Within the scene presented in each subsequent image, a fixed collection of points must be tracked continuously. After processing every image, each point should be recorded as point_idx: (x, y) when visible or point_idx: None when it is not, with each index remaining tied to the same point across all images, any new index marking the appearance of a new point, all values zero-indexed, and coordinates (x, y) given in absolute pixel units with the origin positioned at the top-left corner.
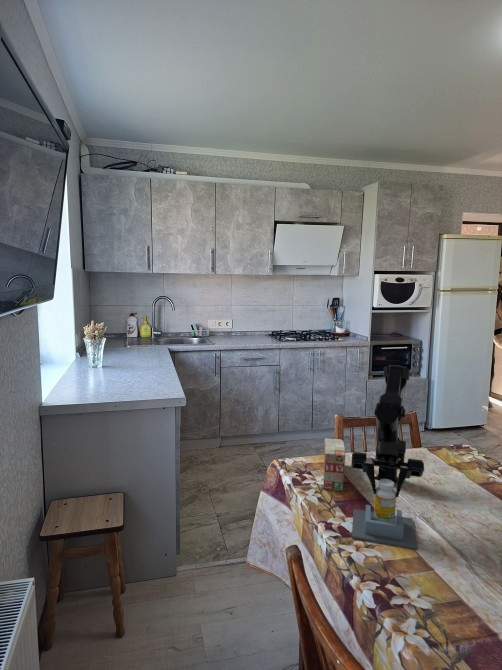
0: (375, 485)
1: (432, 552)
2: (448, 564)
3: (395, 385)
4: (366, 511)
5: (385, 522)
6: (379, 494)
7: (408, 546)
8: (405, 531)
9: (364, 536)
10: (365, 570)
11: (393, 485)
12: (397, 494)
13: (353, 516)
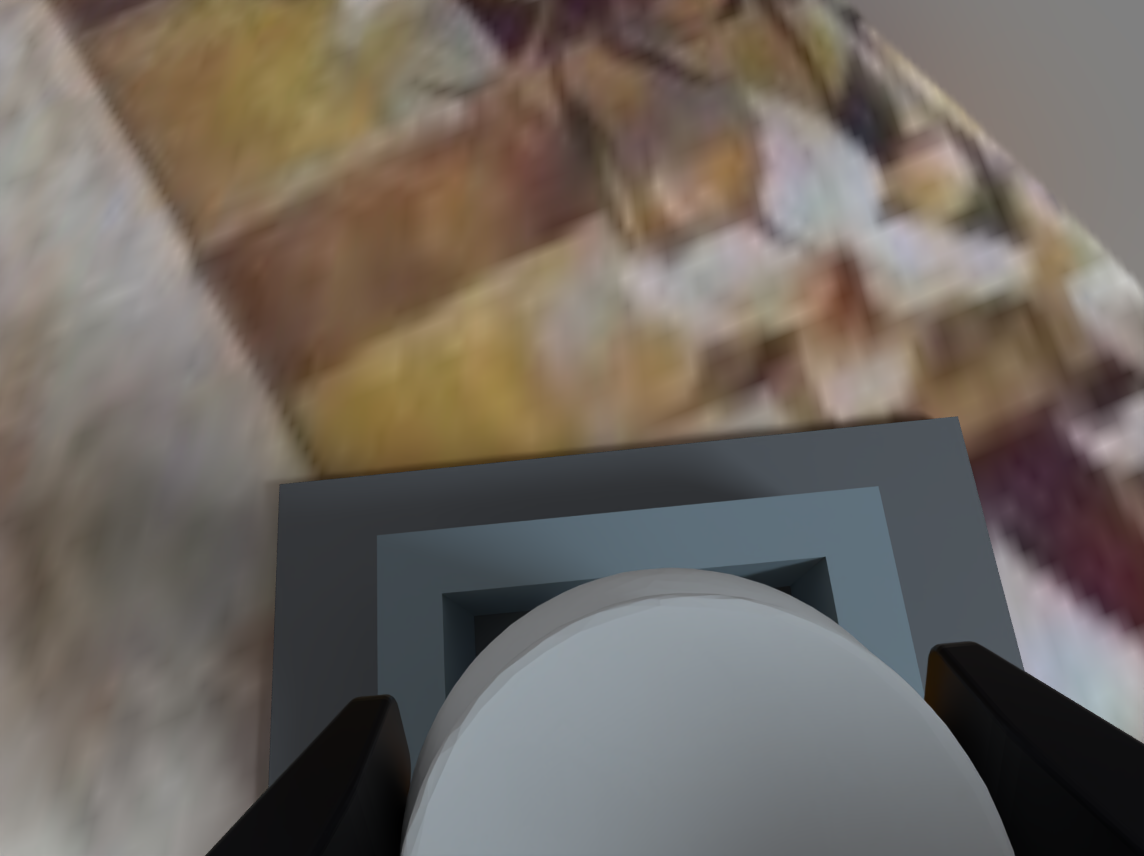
0: (1048, 764)
1: (148, 506)
2: (48, 377)
3: None
4: None
5: (618, 566)
6: (818, 617)
7: (369, 479)
8: None
9: (827, 462)
10: (725, 53)
11: (432, 772)
12: (362, 711)
13: None
